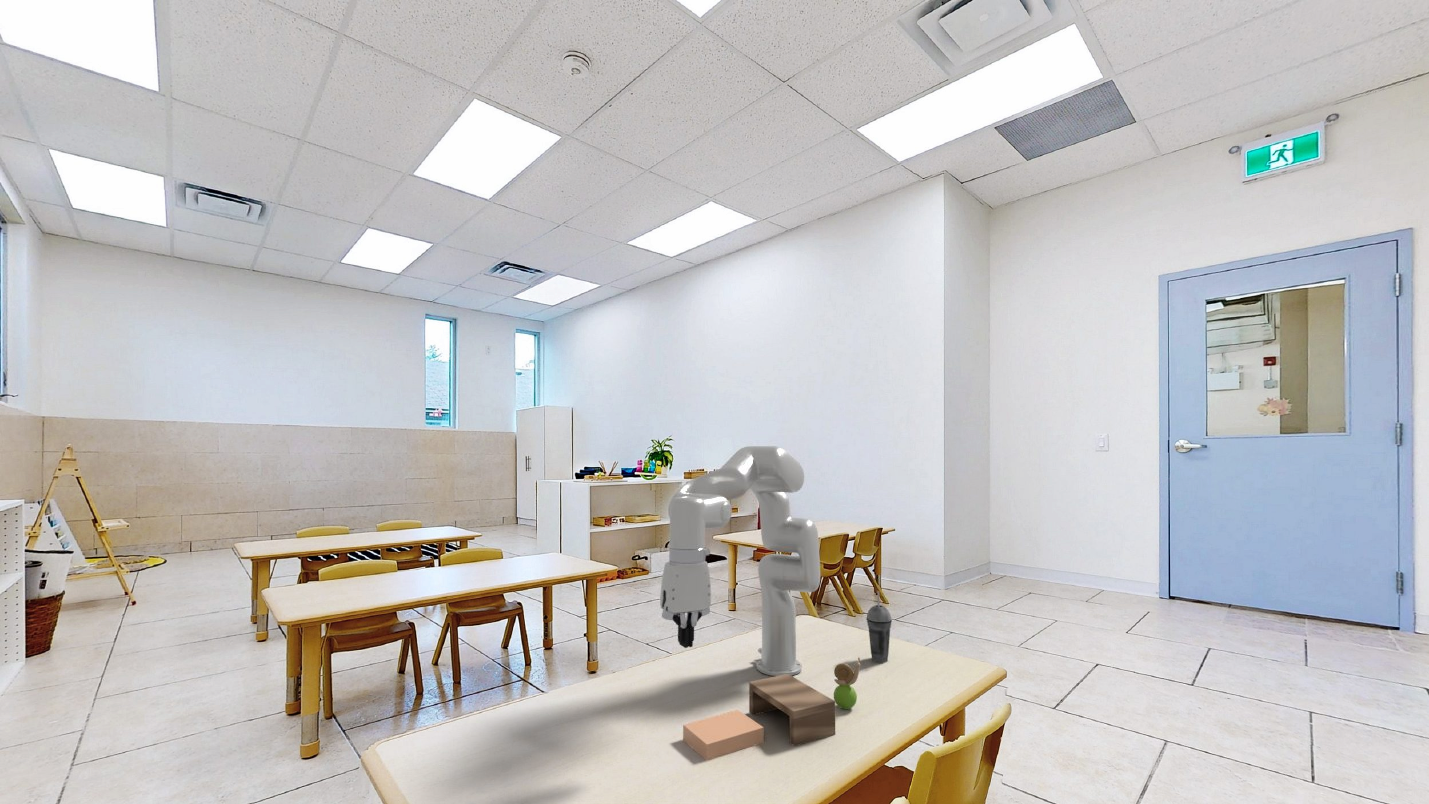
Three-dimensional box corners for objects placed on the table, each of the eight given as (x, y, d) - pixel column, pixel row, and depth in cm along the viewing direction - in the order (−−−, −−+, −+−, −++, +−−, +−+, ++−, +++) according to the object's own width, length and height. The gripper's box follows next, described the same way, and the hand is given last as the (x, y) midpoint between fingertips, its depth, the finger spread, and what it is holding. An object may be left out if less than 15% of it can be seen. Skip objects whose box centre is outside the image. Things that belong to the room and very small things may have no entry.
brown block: (749, 712, 144) (749, 682, 145) (787, 703, 149) (787, 673, 150) (794, 746, 128) (793, 711, 129) (835, 734, 133) (835, 701, 134)
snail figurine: (861, 714, 143) (860, 661, 144) (833, 711, 144) (833, 659, 145) (860, 704, 149) (860, 654, 149) (833, 702, 150) (833, 652, 151)
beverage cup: (893, 657, 181) (892, 588, 183) (892, 665, 174) (890, 594, 176) (868, 654, 184) (867, 586, 185) (865, 662, 177) (864, 592, 178)
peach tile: (683, 741, 131) (683, 724, 131) (737, 725, 138) (737, 709, 139) (707, 762, 123) (707, 744, 123) (763, 744, 130) (763, 727, 130)
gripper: (709, 551, 136) (708, 636, 134) (647, 555, 129) (645, 645, 127) (726, 556, 129) (725, 645, 128) (661, 561, 122) (660, 656, 121)
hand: (685, 645), depth 127 cm, fingers closed
